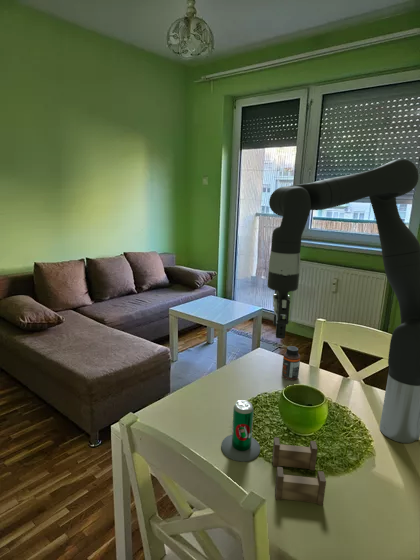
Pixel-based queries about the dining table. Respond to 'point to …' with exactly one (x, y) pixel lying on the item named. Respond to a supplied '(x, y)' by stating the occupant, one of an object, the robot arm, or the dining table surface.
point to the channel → (297, 485)
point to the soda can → (242, 425)
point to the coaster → (240, 455)
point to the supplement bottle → (291, 363)
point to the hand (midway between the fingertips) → (278, 331)
